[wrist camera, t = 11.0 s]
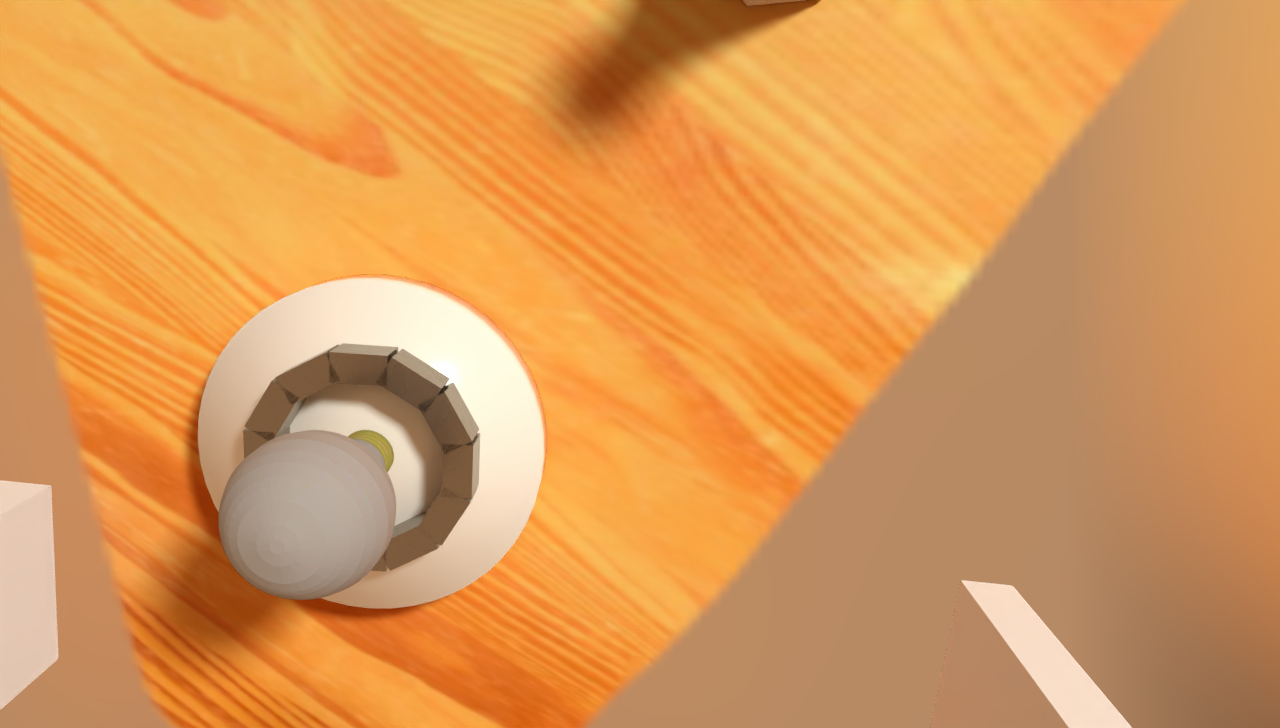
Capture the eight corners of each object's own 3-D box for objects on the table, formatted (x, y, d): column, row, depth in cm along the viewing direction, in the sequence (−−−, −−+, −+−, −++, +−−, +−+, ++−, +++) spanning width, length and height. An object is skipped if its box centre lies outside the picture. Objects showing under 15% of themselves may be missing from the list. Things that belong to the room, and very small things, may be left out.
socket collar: (257, 337, 36) (240, 346, 35) (482, 352, 36) (475, 361, 35) (263, 545, 38) (247, 562, 37) (476, 559, 38) (469, 577, 37)
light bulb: (436, 519, 38) (364, 638, 28) (304, 506, 38) (185, 622, 28) (444, 391, 37) (372, 469, 27) (307, 377, 37) (186, 451, 27)
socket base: (213, 262, 37) (190, 269, 36) (554, 286, 38) (549, 293, 36) (225, 576, 41) (204, 597, 39) (539, 596, 41) (534, 618, 39)
